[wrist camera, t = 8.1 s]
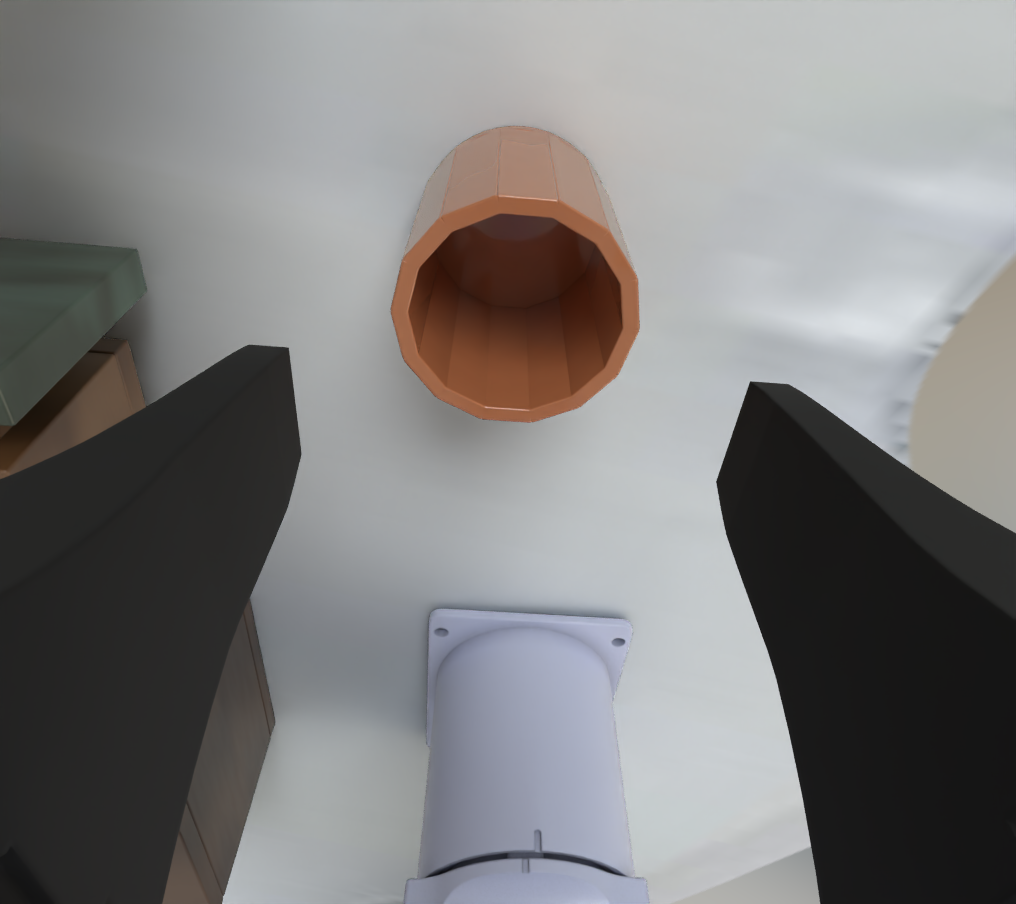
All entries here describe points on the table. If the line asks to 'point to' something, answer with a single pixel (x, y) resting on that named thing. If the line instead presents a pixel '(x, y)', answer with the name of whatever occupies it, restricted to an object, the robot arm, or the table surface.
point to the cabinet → (223, 775)
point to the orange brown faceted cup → (516, 280)
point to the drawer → (63, 346)
